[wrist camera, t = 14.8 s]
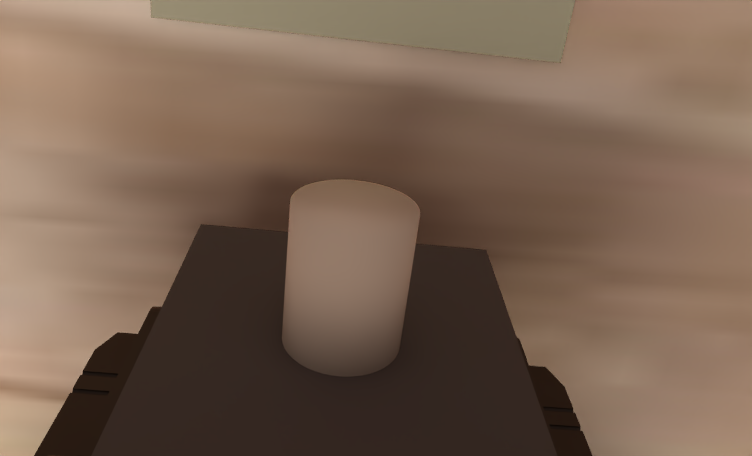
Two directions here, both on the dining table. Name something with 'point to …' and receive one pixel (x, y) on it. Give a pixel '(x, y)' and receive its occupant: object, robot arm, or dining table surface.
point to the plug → (330, 344)
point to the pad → (399, 22)
